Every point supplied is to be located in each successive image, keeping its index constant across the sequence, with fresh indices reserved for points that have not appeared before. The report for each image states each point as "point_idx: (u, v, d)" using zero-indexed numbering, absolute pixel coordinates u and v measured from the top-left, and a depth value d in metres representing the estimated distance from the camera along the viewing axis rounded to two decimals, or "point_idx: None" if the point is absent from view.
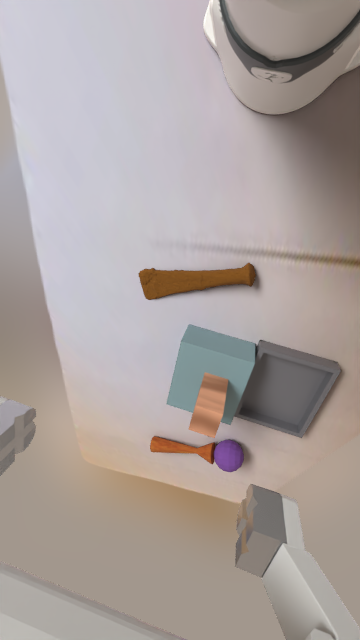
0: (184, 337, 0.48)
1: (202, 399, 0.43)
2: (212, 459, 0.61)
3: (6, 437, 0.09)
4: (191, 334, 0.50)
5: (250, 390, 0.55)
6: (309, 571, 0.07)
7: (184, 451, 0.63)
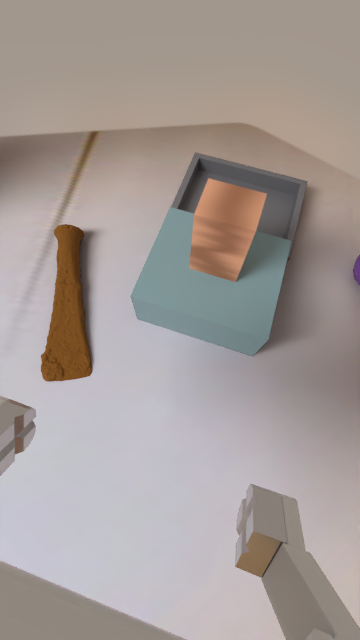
0: None
1: None
2: None
3: (6, 437, 0.09)
4: None
5: None
6: (309, 571, 0.07)
7: None
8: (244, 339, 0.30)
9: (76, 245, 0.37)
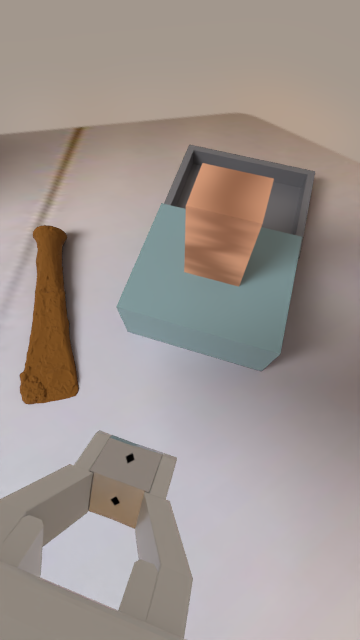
0: None
1: None
2: None
3: None
4: None
5: None
6: (160, 515, 0.08)
7: None
8: (251, 353, 0.25)
9: (58, 248, 0.33)
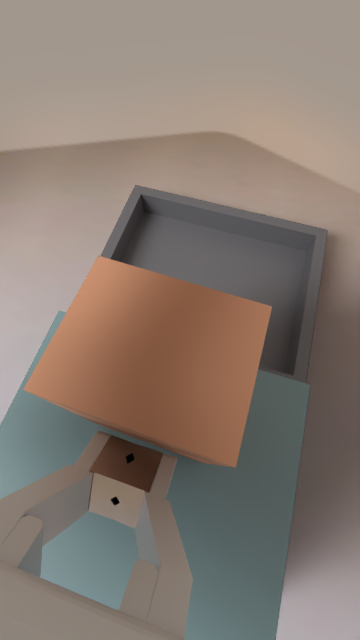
0: None
1: None
2: None
3: None
4: None
5: None
6: (160, 515, 0.08)
7: None
8: None
9: None
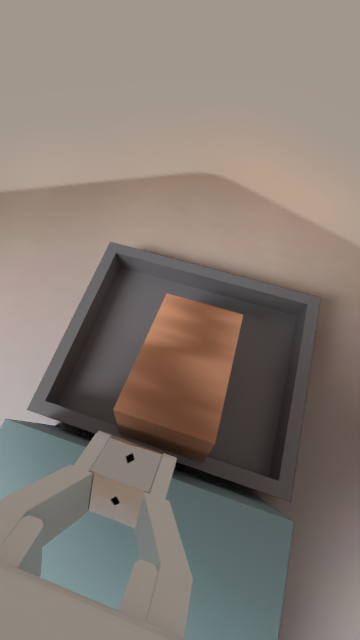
0: None
1: None
2: None
3: None
4: None
5: None
6: (160, 515, 0.08)
7: None
8: None
9: None
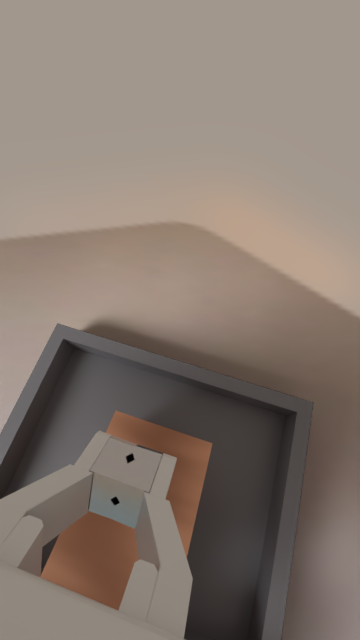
0: None
1: None
2: None
3: None
4: None
5: None
6: (160, 515, 0.08)
7: None
8: None
9: None
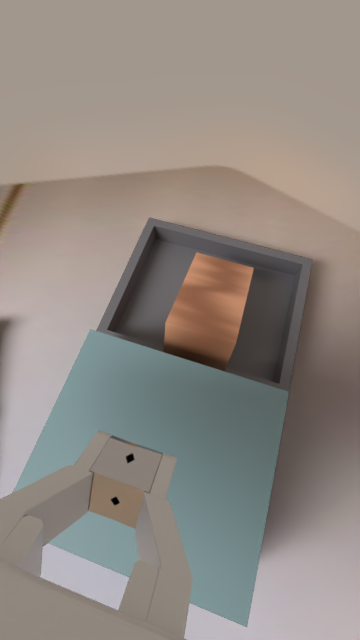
0: None
1: None
2: None
3: None
4: None
5: None
6: (160, 515, 0.08)
7: None
8: None
9: None
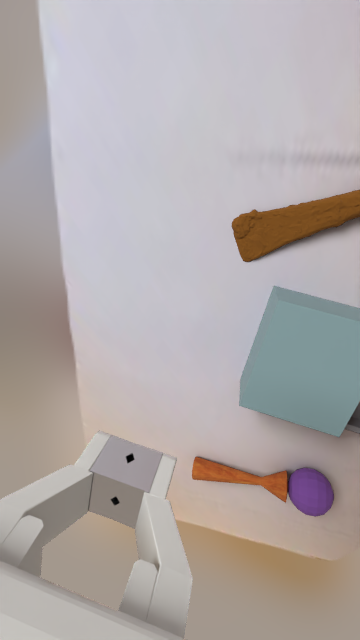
0: (279, 296, 0.32)
1: None
2: None
3: None
4: (286, 294, 0.33)
5: None
6: (160, 515, 0.08)
7: (243, 481, 0.44)
8: (244, 384, 0.37)
9: None
